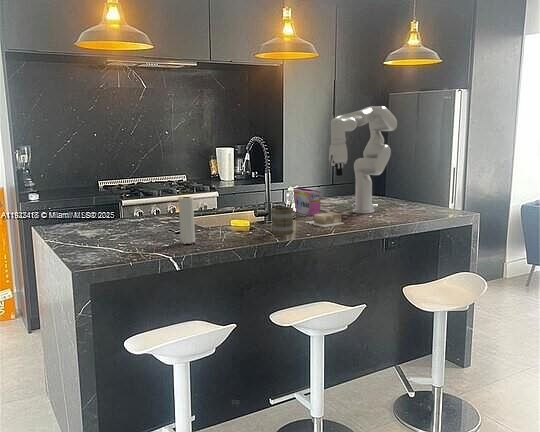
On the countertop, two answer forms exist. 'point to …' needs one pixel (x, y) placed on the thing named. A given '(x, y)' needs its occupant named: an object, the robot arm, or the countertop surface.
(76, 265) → the countertop surface
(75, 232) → the countertop surface
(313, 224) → the mat
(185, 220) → the paper towel roll
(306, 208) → the gum box
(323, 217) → the sponge
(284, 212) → the mug
